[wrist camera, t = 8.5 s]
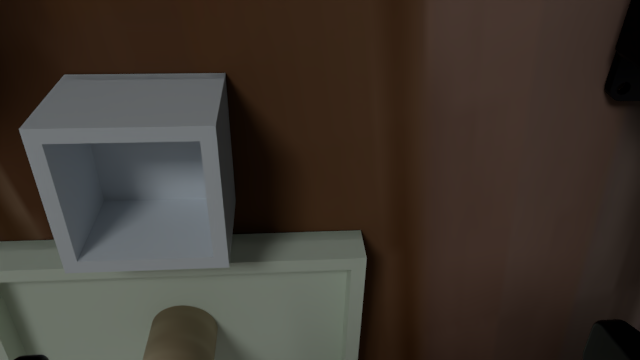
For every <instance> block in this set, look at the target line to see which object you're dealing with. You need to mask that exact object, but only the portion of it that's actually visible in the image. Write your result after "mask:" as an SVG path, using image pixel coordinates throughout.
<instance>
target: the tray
mask: <svg viewBox="0 0 640 360" xmlns="http://www.w3.org/2000/svg"><path fill="white" fill-rule="evenodd" d="M366 262H367V257H366V252H365V248H364V243H363V238H362V234H361V230H355V231H323V232H291V233H259V234H232V244H231V254H230V265H229V268H204V269H176V270H148V271H120V272H92V273H65V271H64V268H63V265H62V262H61V259H60V256H59V252H58V249H57V246H56V243H55V240H35V241H3V242H0V360H14V359H16V358H17V357H19V356H23V355H38V354H42V355H45V356H46V357H48V359H49V360H143V356H144V352H145V348H146V345H147V341H148V337H149V333H150V329H151V325H152V322H153V319H154V317H155V316H156V315H157V314H158V313H159V312H161V311H162V310H164V309H166V308H169V307H173V306H181V305H184V306H193V307H196V308H199V309H202V310H204V311H206V312H207V313H209V314H210V315H211V316H212V317H213V318H214V319H215V321H216V323H217V326H218V333H217V341H216V349H215V357H214V360H358V351H359V340H360V329H361V318H362V307H363V295H364V284H365V273H366Z"/></svg>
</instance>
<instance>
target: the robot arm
mask: <svg viewBox="0 0 640 360" xmlns="http://www.w3.org/2000/svg"><path fill="white" fill-rule="evenodd" d="M624 82H625V84H624V86H623V87H622V88H621V89H620V90H617V88H618V86H619V85H620V84H621V83H624ZM605 92H606V93H607V94H608V95H609V96H610V97H612V98H613V99H614V100H617V101H640V0H631V2H630V5H629V8H628V11H627V14H626V17H625V20H624V24H623V27H622V30H621V33H620V36H619V39H618V42H617V45H616V53H615V56H614V59H613V62H612V65H611V68H610V71H609V74H608V77H607V80H606V83H605ZM14 360H49V359H48V357H46V356H45V355H42V354H38V355H23V356H19V357H17V358H16V359H14ZM583 360H640V332H639V331H638V330H637V329H635V328H634V327H632V326H631V325H630V324H628V323H627V322H625V321H623V320H619V319H613V320H599V321H597V322H596V323H594V325H593V327H592V330H591V332H590V335H589V338H588V340H587V343H586V346H585V348H584V351H583Z"/></svg>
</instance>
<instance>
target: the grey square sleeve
mask: <svg viewBox="0 0 640 360" xmlns="http://www.w3.org/2000/svg"><path fill="white" fill-rule="evenodd" d="M19 131H20V134H21V137H22V141H23V144H24V147H25V150H26V153H27V156H28V159H29V162H30V165H31V169H32V172H33V175H34V178H35V181H36V184H37V187H38V190H39V193H40V197H41V200H42V203H43V206H44V209H45V212H46V215H47V218H48V221H49V224H50V228H51V231H52V234H53V237H54V240H55V243H56V246H57V249H58V252H59V256H60V259H61V262H62V265H63V268H64V271H65V273H92V272H120V271H148V270H176V269H204V268H229V265H230V254H231V244H232V234H233V223H234V213H235V203H236V198H235V186H234V173H233V161H232V149H231V136H230V124H229V111H228V99H227V86H226V74H225V73H189V74H85V75H64V76H63V77H62V78H61V79H60V80H59V82H58V83H57V84H56V85H55V86H54V88H53V89H52V90H51V91H50V92H49V94H48V95H47V96H46V97H45V98H44V100H43V101H42V102H41V103H40V104H39V106H38V107H37V108H36V109H35V110H34V112H33V113H32V114H31V115H30V116H29V118H28V119H27V120H26V121H25V122H24V124H23V125H22V126H21V127H20V128H19Z"/></svg>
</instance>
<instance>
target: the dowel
mask: <svg viewBox="0 0 640 360" xmlns="http://www.w3.org/2000/svg"><path fill="white" fill-rule="evenodd" d="M217 333H218V326H217V323H216V321H215V319H214V318H213V317H212V316H211V315H210V314H209V313H207V312H206V311H204V310H202V309H199V308H196V307H193V306H184V305H181V306H173V307H169V308H166V309H164V310H162V311H161V312H159V313H158V314H157V315H156V316H155V317H154V319H153V322H152V325H151V329H150V333H149V337H148V341H147V345H146V348H145V352H144V356H143V360H214V357H215V349H216V341H217Z"/></svg>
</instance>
